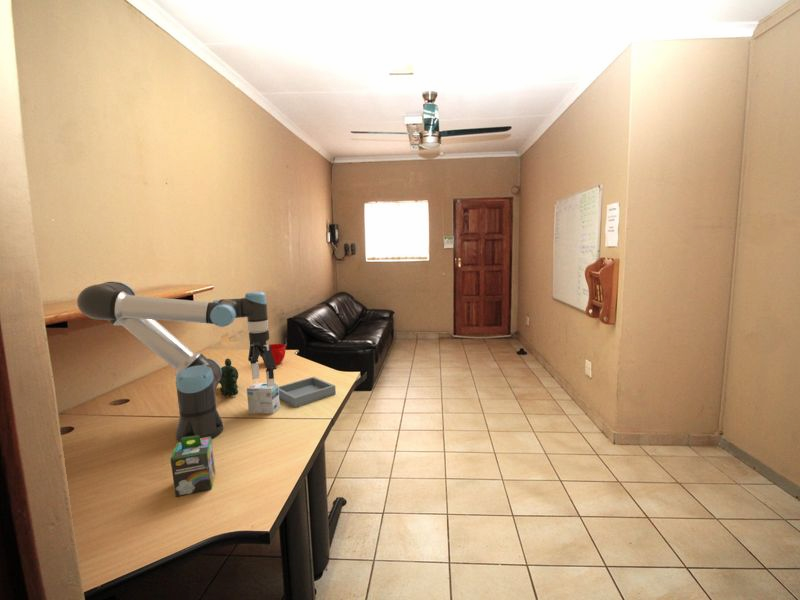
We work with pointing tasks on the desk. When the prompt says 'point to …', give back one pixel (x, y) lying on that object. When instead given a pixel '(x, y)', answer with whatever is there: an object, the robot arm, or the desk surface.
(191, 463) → the chalk box
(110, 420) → the desk surface
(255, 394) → the light bulb box
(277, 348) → the ceramic cup
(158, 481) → the desk surface
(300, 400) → the gray tray
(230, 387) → the toy figurine
